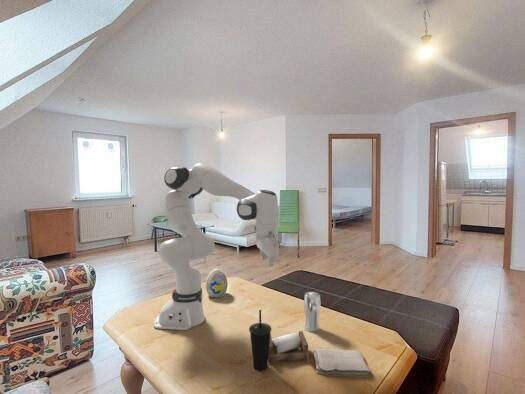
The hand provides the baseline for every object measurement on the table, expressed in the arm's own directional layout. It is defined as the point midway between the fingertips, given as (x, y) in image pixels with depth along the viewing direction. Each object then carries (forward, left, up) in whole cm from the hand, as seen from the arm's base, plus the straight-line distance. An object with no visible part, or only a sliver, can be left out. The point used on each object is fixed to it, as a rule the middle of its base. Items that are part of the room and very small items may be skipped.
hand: (266, 262), depth 114 cm
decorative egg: (-25, +43, -31) cm, 59 cm away
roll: (+6, -14, -26) cm, 30 cm away
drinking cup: (-4, -20, -31) cm, 37 cm away
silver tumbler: (+20, +3, -31) cm, 37 cm away
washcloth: (+24, -21, -31) cm, 44 cm away
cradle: (+6, -14, -31) cm, 34 cm away
